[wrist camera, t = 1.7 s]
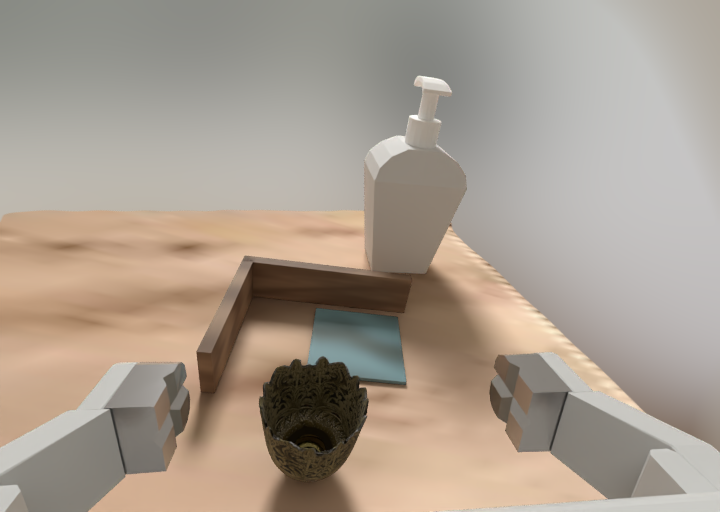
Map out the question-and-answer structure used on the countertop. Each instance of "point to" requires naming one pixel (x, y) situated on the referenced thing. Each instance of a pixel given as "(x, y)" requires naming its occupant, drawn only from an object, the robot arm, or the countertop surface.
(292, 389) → the cup
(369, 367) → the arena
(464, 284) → the countertop surface
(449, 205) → the soap bottle
